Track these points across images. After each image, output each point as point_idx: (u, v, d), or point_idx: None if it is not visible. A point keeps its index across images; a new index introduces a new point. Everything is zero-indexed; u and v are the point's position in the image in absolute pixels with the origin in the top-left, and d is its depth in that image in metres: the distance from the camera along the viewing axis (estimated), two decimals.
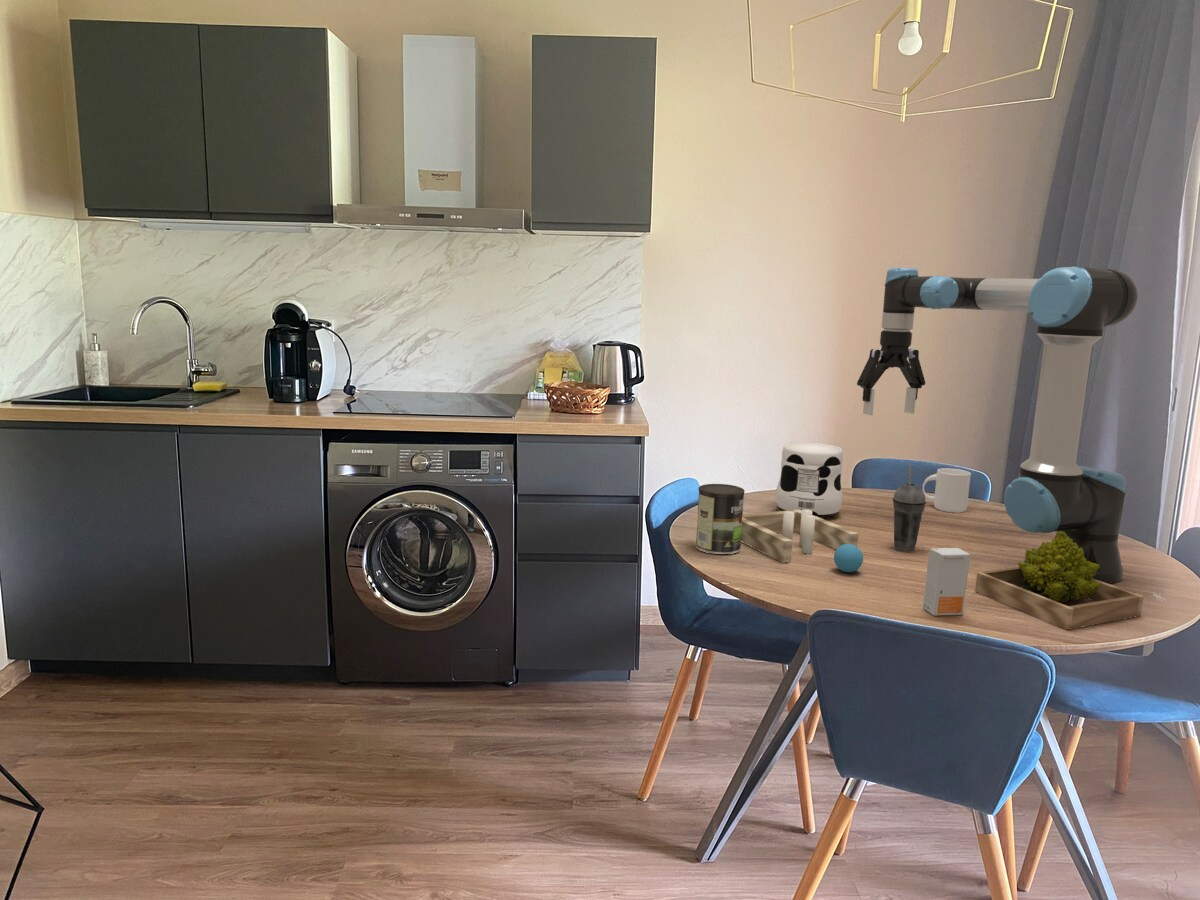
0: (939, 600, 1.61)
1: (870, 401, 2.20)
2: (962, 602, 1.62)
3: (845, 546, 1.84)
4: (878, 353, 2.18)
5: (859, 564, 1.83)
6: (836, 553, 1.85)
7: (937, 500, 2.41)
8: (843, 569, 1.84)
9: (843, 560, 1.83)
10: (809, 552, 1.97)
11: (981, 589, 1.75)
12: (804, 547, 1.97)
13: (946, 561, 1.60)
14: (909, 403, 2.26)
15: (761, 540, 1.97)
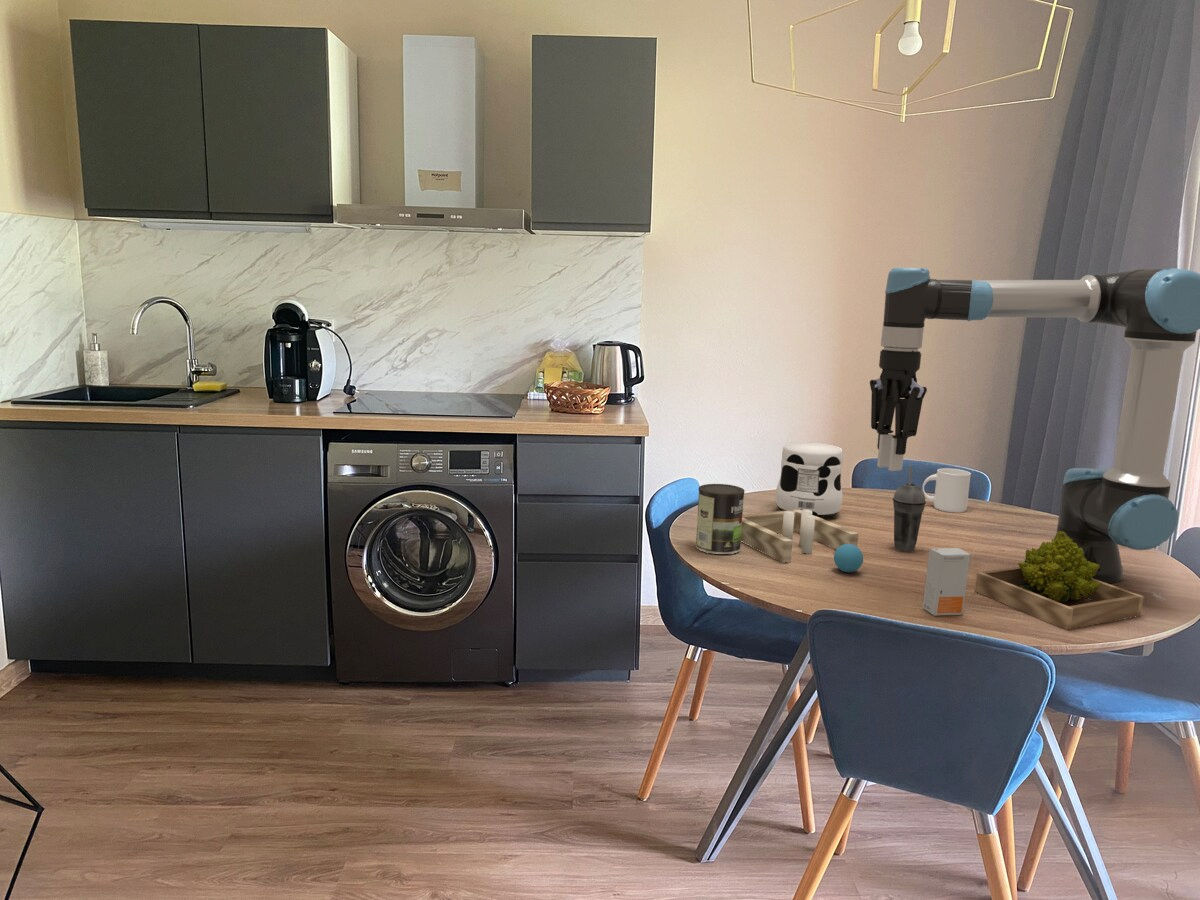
0: (939, 600, 1.61)
1: None
2: (962, 602, 1.62)
3: (845, 546, 1.84)
4: (871, 384, 1.75)
5: (859, 564, 1.83)
6: (836, 553, 1.85)
7: (937, 500, 2.41)
8: (843, 569, 1.84)
9: (843, 560, 1.83)
10: (809, 552, 1.97)
11: (981, 589, 1.75)
12: (804, 547, 1.97)
13: (946, 561, 1.60)
14: None
15: (761, 540, 1.97)
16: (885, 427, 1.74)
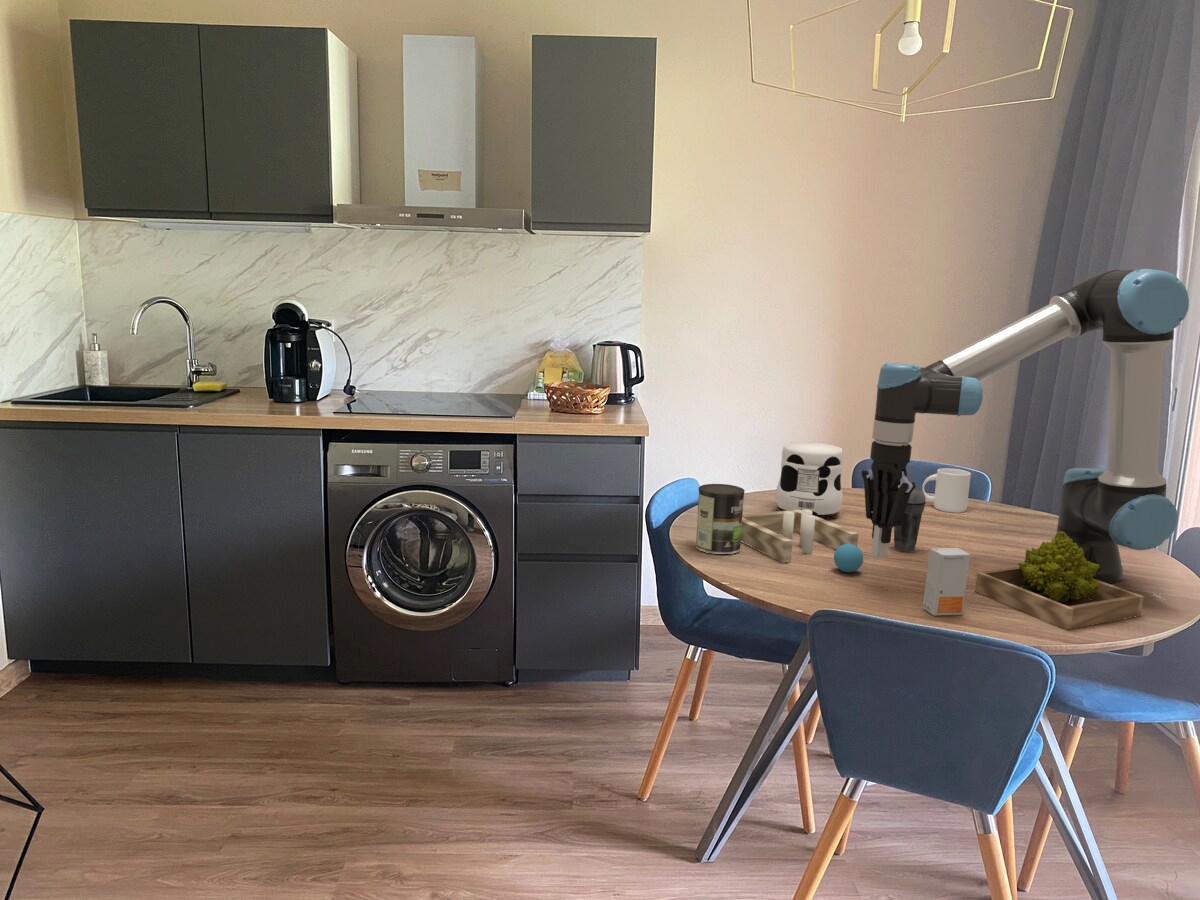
0: (939, 600, 1.61)
1: None
2: (962, 602, 1.62)
3: (845, 546, 1.84)
4: (863, 474, 1.78)
5: (859, 564, 1.83)
6: (836, 553, 1.85)
7: (937, 500, 2.41)
8: (843, 569, 1.84)
9: (843, 560, 1.83)
10: (809, 552, 1.97)
11: (981, 589, 1.75)
12: (804, 547, 1.97)
13: (946, 561, 1.60)
14: None
15: (761, 540, 1.97)
16: (880, 517, 1.76)
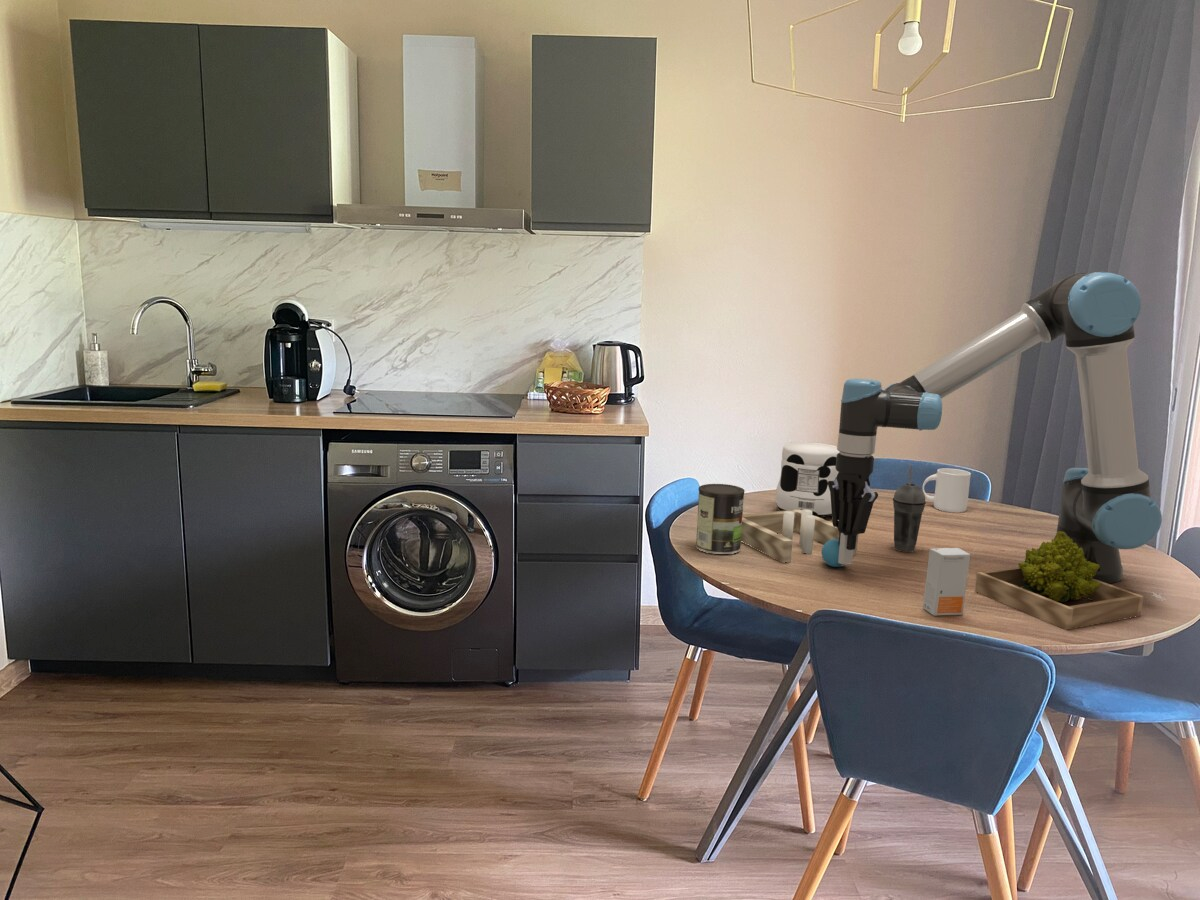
0: (939, 600, 1.61)
1: None
2: (962, 602, 1.62)
3: None
4: (829, 485, 1.87)
5: None
6: (822, 551, 1.89)
7: (937, 500, 2.41)
8: (834, 559, 1.86)
9: (829, 551, 1.87)
10: (809, 552, 1.97)
11: (981, 589, 1.75)
12: (804, 547, 1.97)
13: (946, 561, 1.60)
14: None
15: (761, 540, 1.97)
16: (845, 525, 1.85)
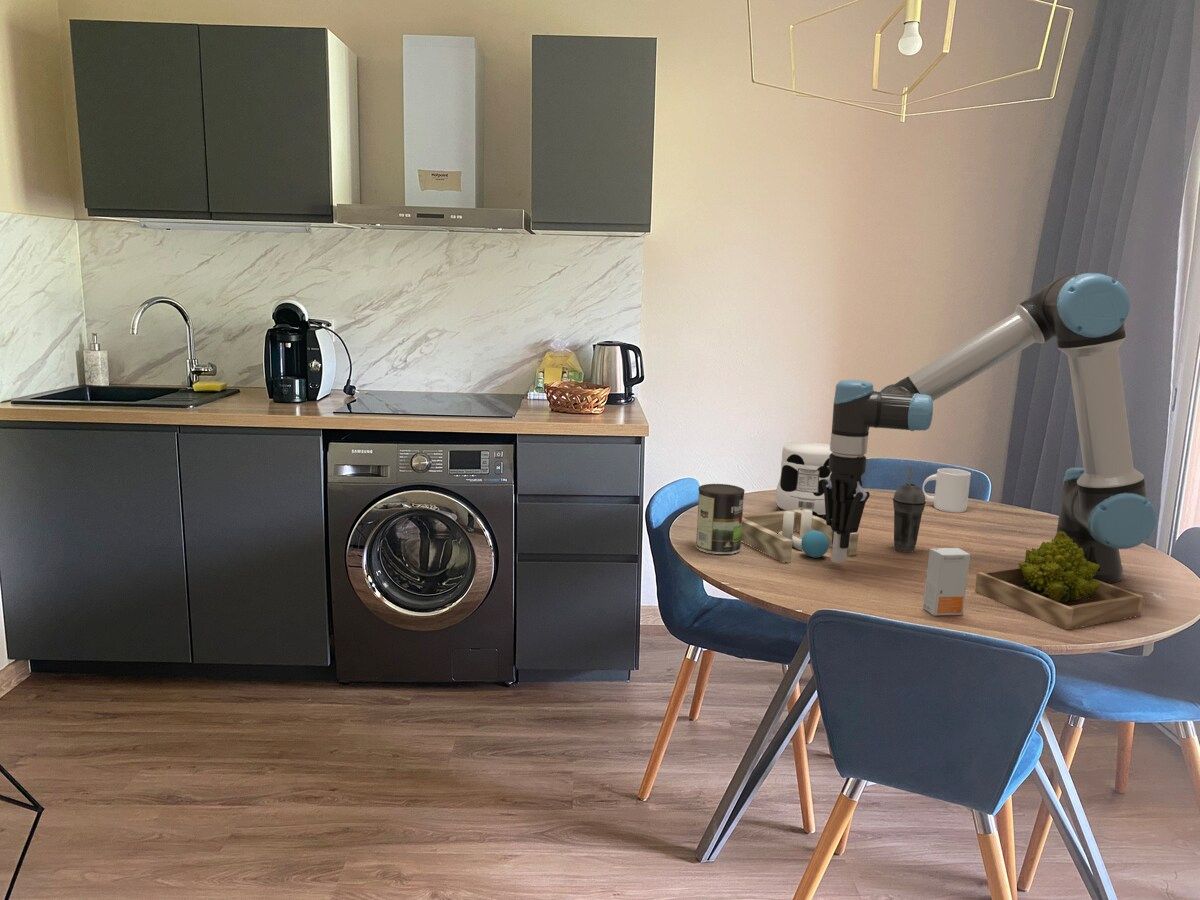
0: (939, 600, 1.61)
1: None
2: (962, 602, 1.62)
3: None
4: (823, 484, 1.90)
5: None
6: (806, 551, 1.94)
7: (937, 500, 2.41)
8: (805, 535, 1.94)
9: (801, 543, 1.95)
10: None
11: (981, 589, 1.75)
12: (795, 542, 2.00)
13: (946, 561, 1.60)
14: None
15: (761, 540, 1.97)
16: (839, 524, 1.88)
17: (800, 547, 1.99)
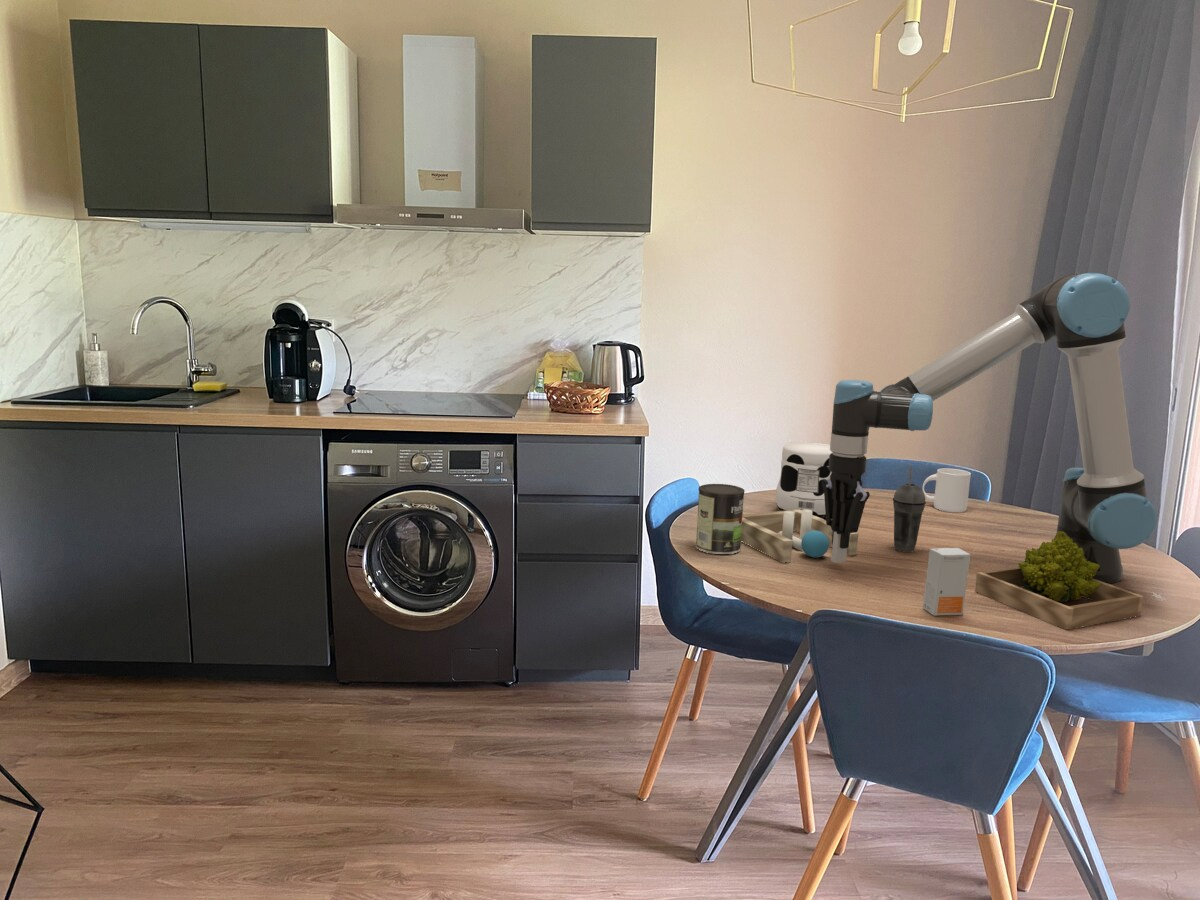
0: (939, 600, 1.61)
1: None
2: (962, 602, 1.62)
3: None
4: (823, 484, 1.90)
5: None
6: (806, 551, 1.94)
7: (937, 500, 2.41)
8: (805, 535, 1.94)
9: (801, 543, 1.95)
10: (801, 540, 2.00)
11: (981, 589, 1.75)
12: (795, 543, 2.00)
13: (946, 561, 1.60)
14: None
15: (761, 540, 1.97)
16: (839, 524, 1.88)
17: (800, 547, 1.99)
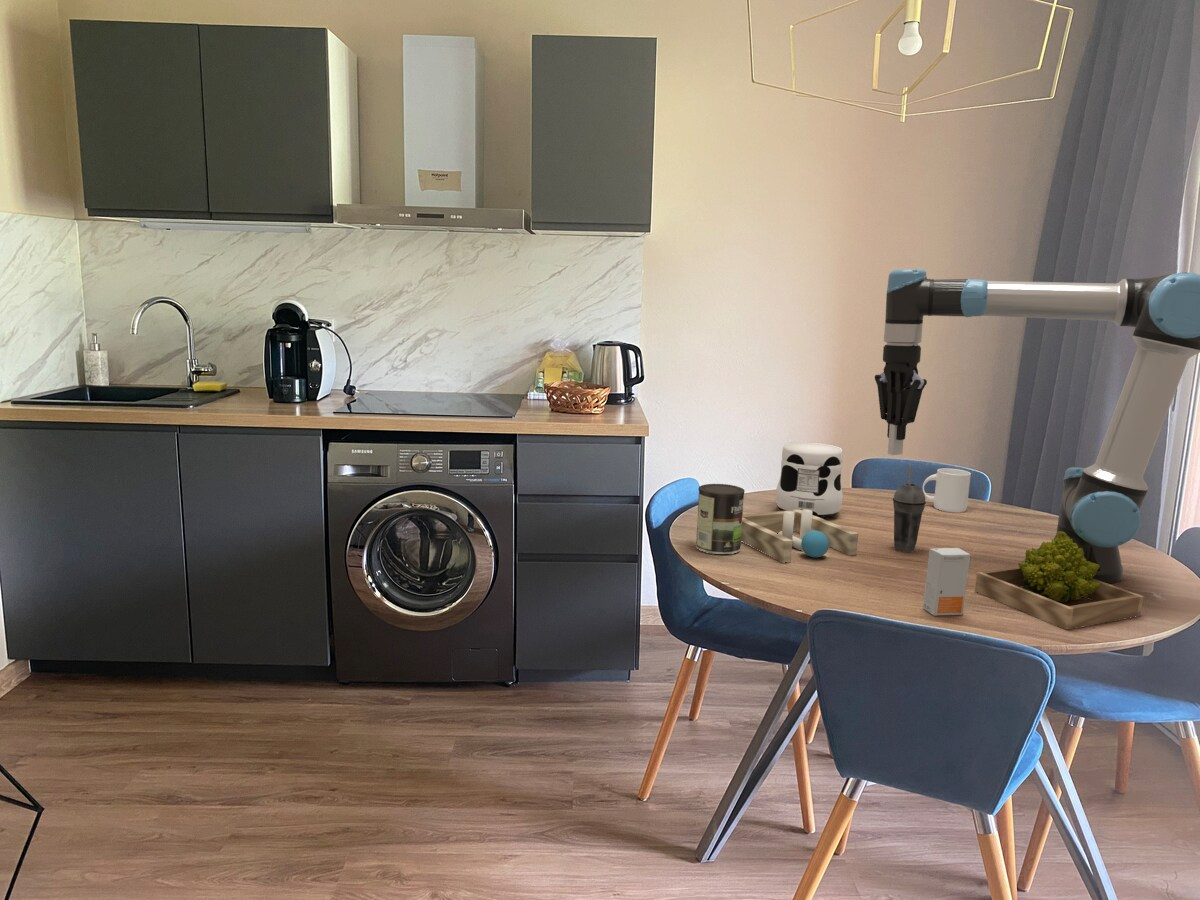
0: (939, 600, 1.61)
1: None
2: (962, 602, 1.62)
3: None
4: (876, 378, 1.90)
5: None
6: (806, 551, 1.94)
7: (937, 500, 2.41)
8: (805, 535, 1.94)
9: (801, 543, 1.95)
10: None
11: (981, 589, 1.75)
12: (795, 542, 2.00)
13: (946, 561, 1.60)
14: None
15: (761, 540, 1.97)
16: (894, 417, 1.88)
17: (800, 547, 1.99)
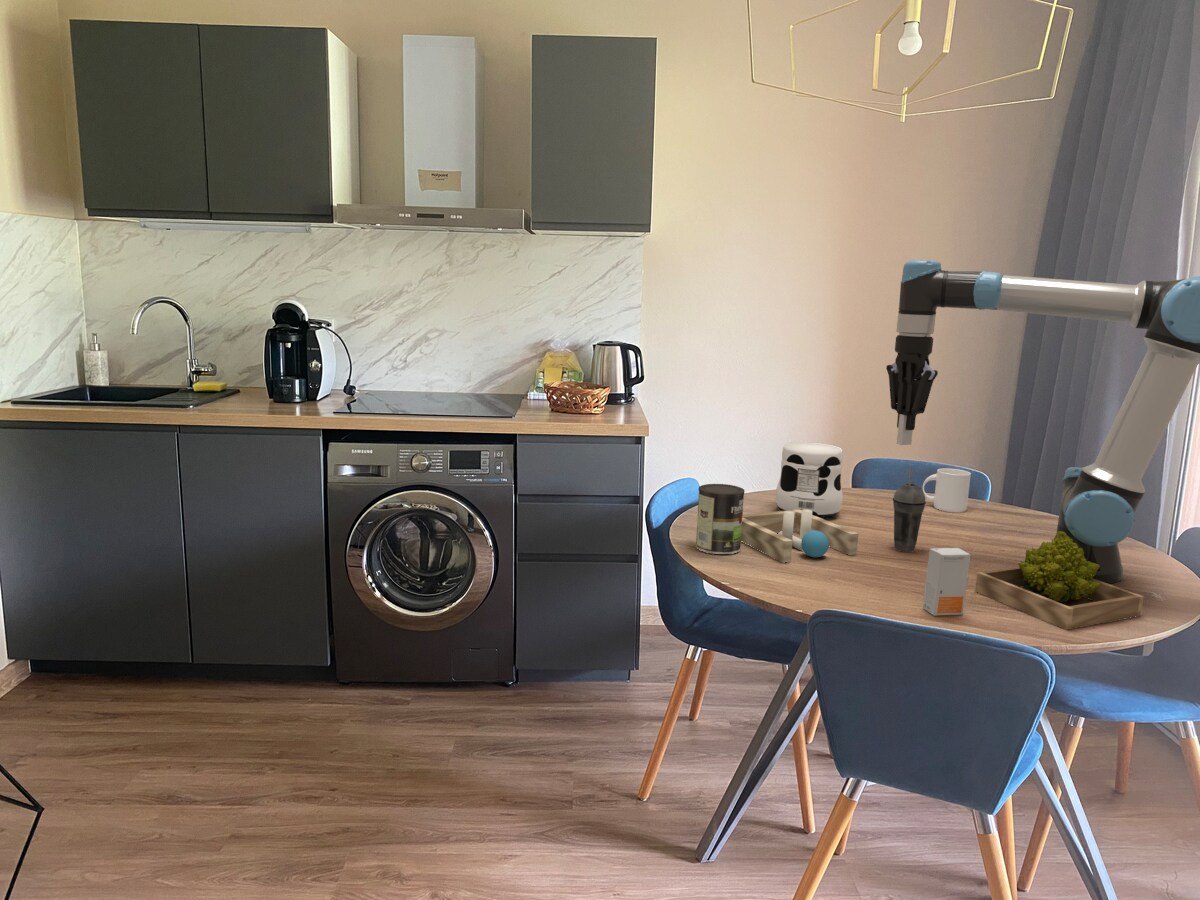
0: (939, 600, 1.61)
1: None
2: (962, 602, 1.62)
3: None
4: (888, 368, 1.91)
5: None
6: (806, 551, 1.94)
7: (937, 500, 2.41)
8: (805, 535, 1.94)
9: (801, 543, 1.95)
10: None
11: (981, 589, 1.75)
12: (795, 542, 2.00)
13: (946, 561, 1.60)
14: None
15: (761, 540, 1.97)
16: (904, 407, 1.89)
17: (800, 547, 1.99)
